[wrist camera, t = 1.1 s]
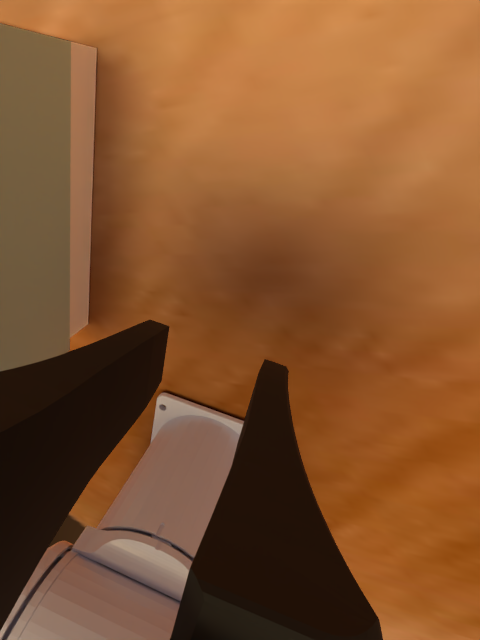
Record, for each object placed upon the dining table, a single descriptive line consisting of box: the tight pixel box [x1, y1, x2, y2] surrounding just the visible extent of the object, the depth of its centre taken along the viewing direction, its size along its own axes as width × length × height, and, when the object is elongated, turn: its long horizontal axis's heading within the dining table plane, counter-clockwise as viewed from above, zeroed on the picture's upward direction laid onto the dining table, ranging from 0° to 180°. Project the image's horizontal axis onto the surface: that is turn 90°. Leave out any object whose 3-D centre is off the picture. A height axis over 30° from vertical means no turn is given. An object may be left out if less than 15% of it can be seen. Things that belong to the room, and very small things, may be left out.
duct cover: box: [0, 23, 71, 371], centre depth 16 cm, size 15×7×1 cm
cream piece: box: [70, 42, 97, 337], centre depth 21 cm, size 15×8×3 cm, turn 167°
